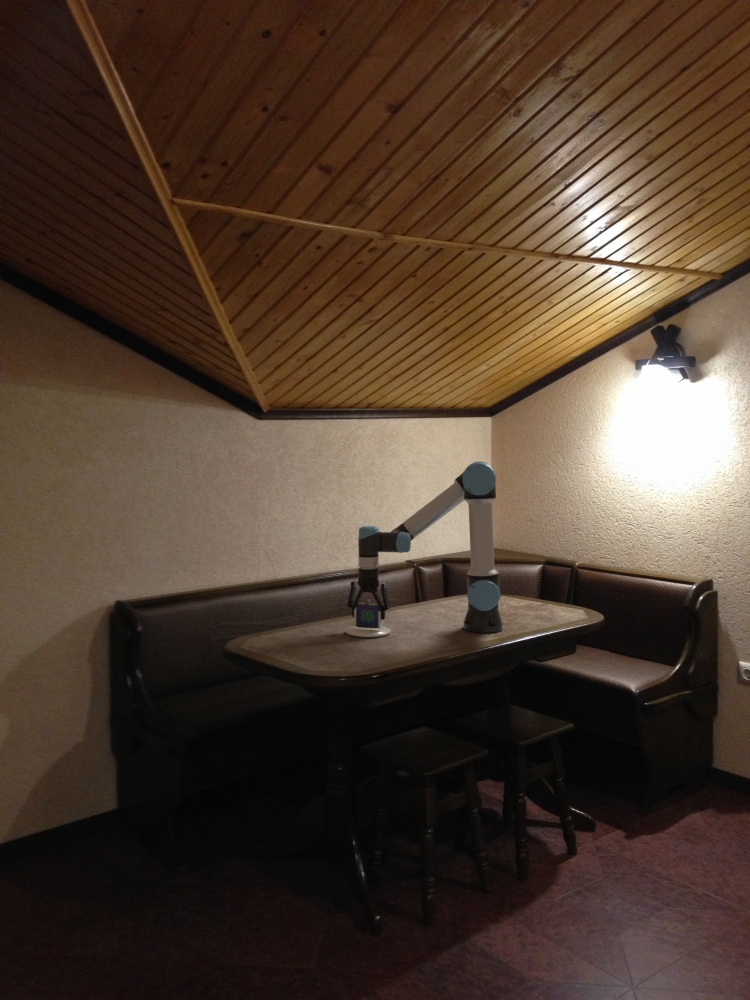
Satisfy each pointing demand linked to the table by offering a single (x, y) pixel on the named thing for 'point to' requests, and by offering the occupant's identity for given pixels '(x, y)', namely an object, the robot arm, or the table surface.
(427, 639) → the table surface
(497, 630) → the robot arm
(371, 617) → the blue hip flask
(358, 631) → the plate
